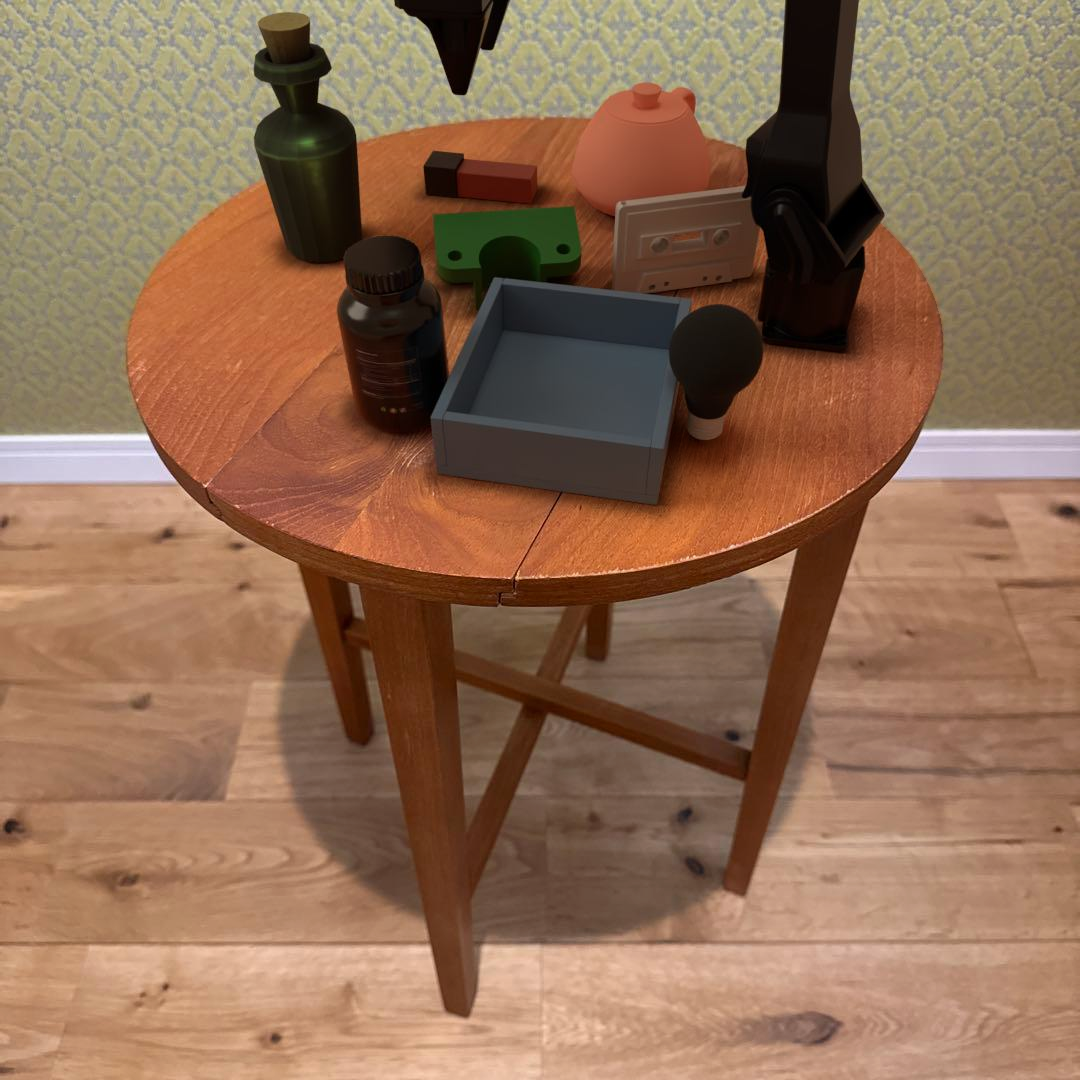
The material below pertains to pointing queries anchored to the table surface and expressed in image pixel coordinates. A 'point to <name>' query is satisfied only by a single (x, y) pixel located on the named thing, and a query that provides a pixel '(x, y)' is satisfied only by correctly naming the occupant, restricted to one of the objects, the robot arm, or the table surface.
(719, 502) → the table surface
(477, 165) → the red bar
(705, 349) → the light bulb
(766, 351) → the table surface
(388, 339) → the supplement bottle
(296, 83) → the potion bottle
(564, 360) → the bin
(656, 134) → the sugar bowl
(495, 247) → the clamp
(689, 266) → the cassette
